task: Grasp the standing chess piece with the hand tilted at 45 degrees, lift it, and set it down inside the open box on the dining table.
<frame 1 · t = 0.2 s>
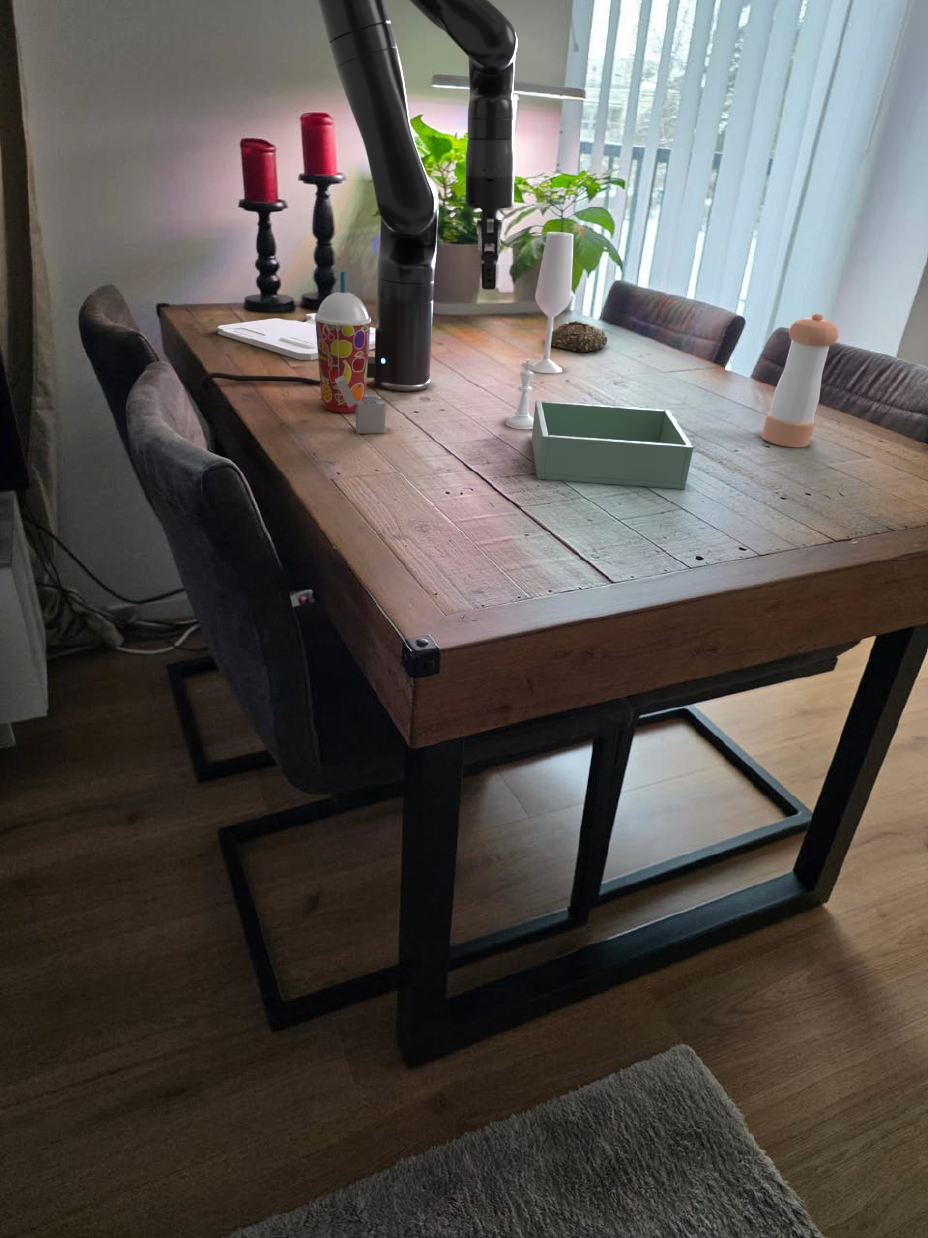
hand: (488, 284, 139), 17 cm above the table, tool pointing down, fingers open, 8 cm apart
open box: (603, 462, 120), on the table
lighter: (360, 432, 124), on the table
tray: (312, 338, 174), on the table
chess piece: (521, 425, 133), on the table
smoothie: (343, 409, 134), on the table
pepper shaker: (784, 441, 135), on the table
bread roll: (574, 346, 185), on the table
champagne flute: (544, 369, 165), on the table
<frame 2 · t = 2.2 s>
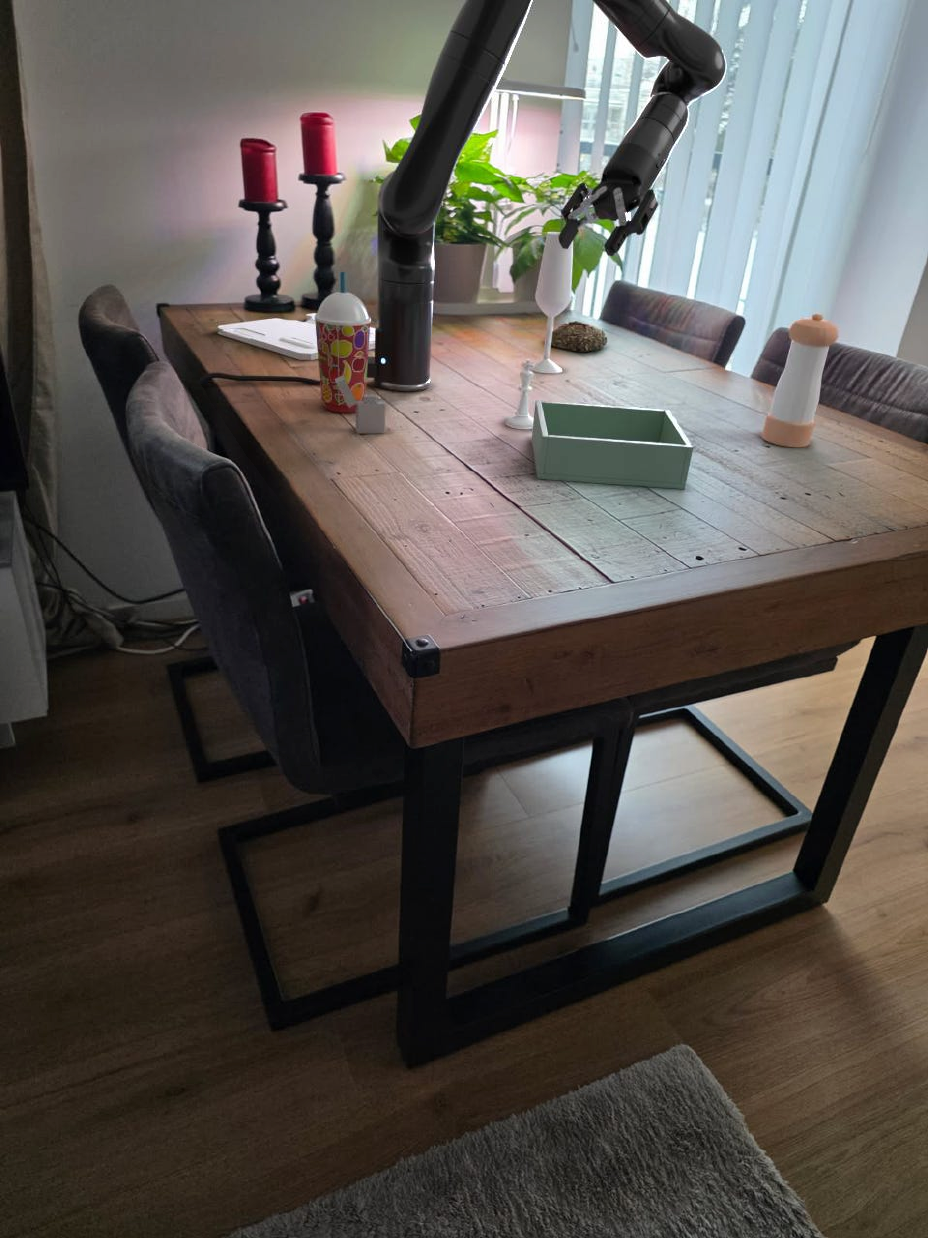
hand: (584, 248, 128), 25 cm above the table, tool tilted 45°, fingers open, 8 cm apart
nothing on the table moved.
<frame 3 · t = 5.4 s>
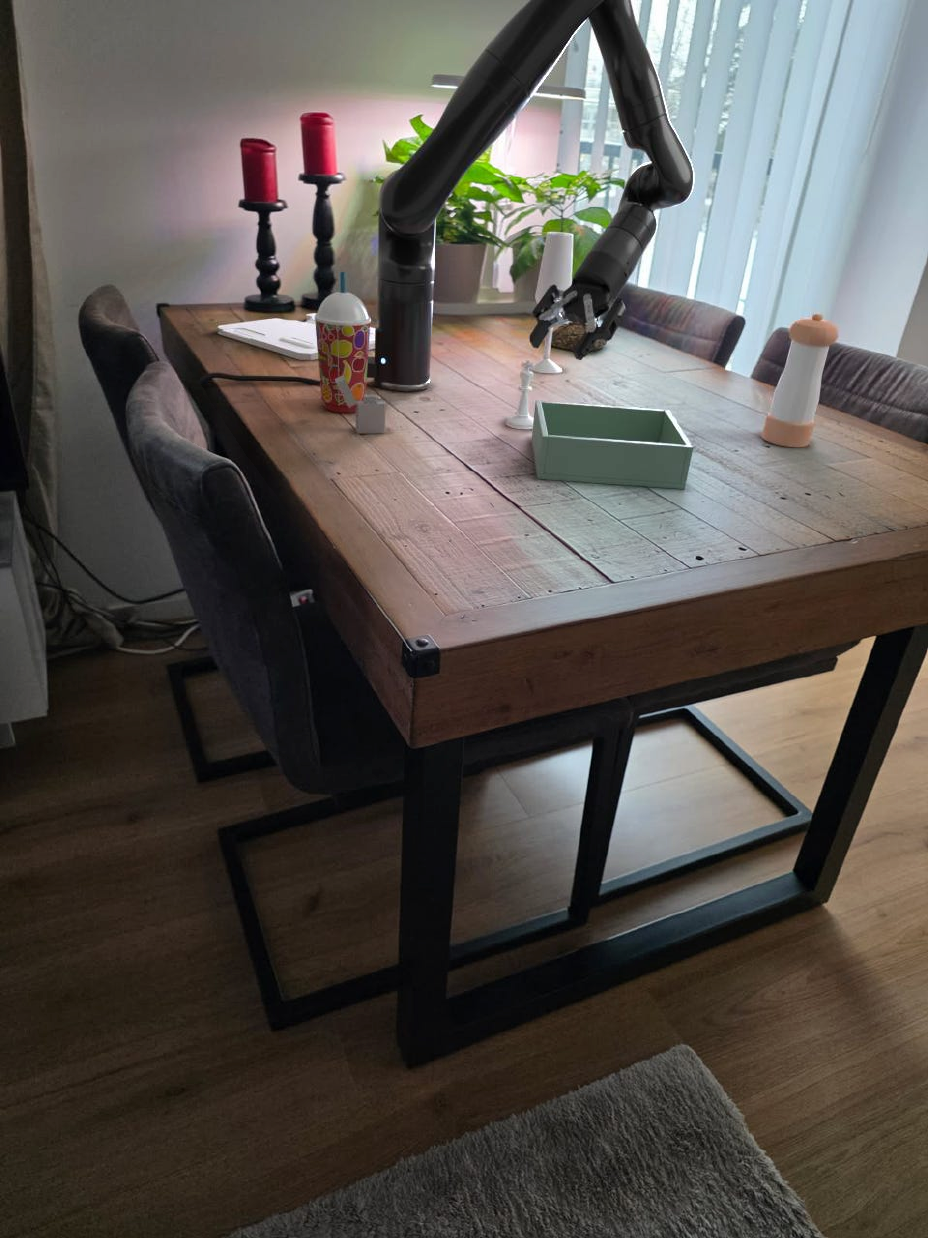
hand: (554, 350, 131), 11 cm above the table, tool tilted 45°, fingers open, 8 cm apart
nothing on the table moved.
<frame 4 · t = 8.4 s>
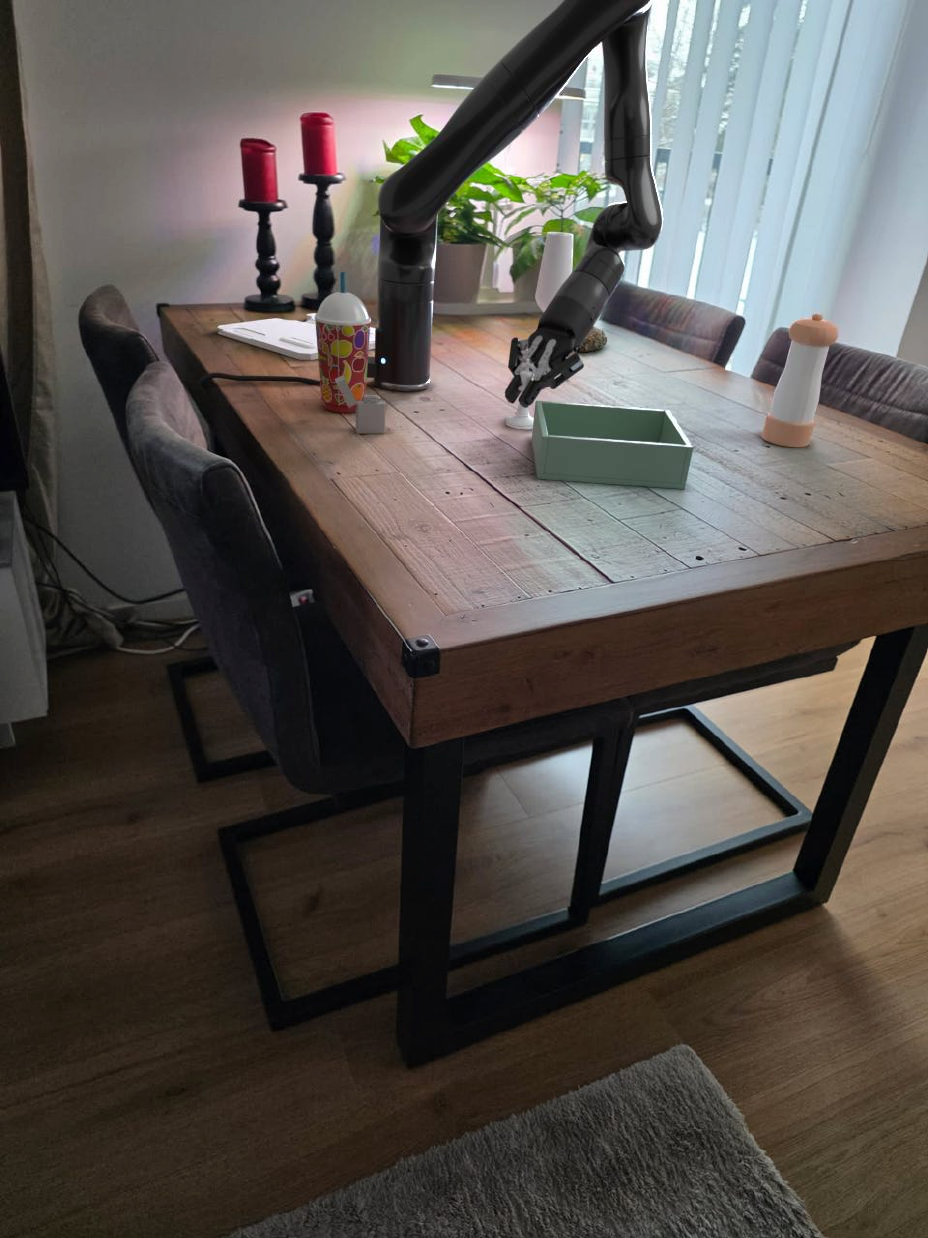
hand: (515, 401, 129), 4 cm above the table, tool tilted 45°, fingers closed on chess piece
chess piece: (521, 425, 133), on the table, touching gripper
everything else where it was.
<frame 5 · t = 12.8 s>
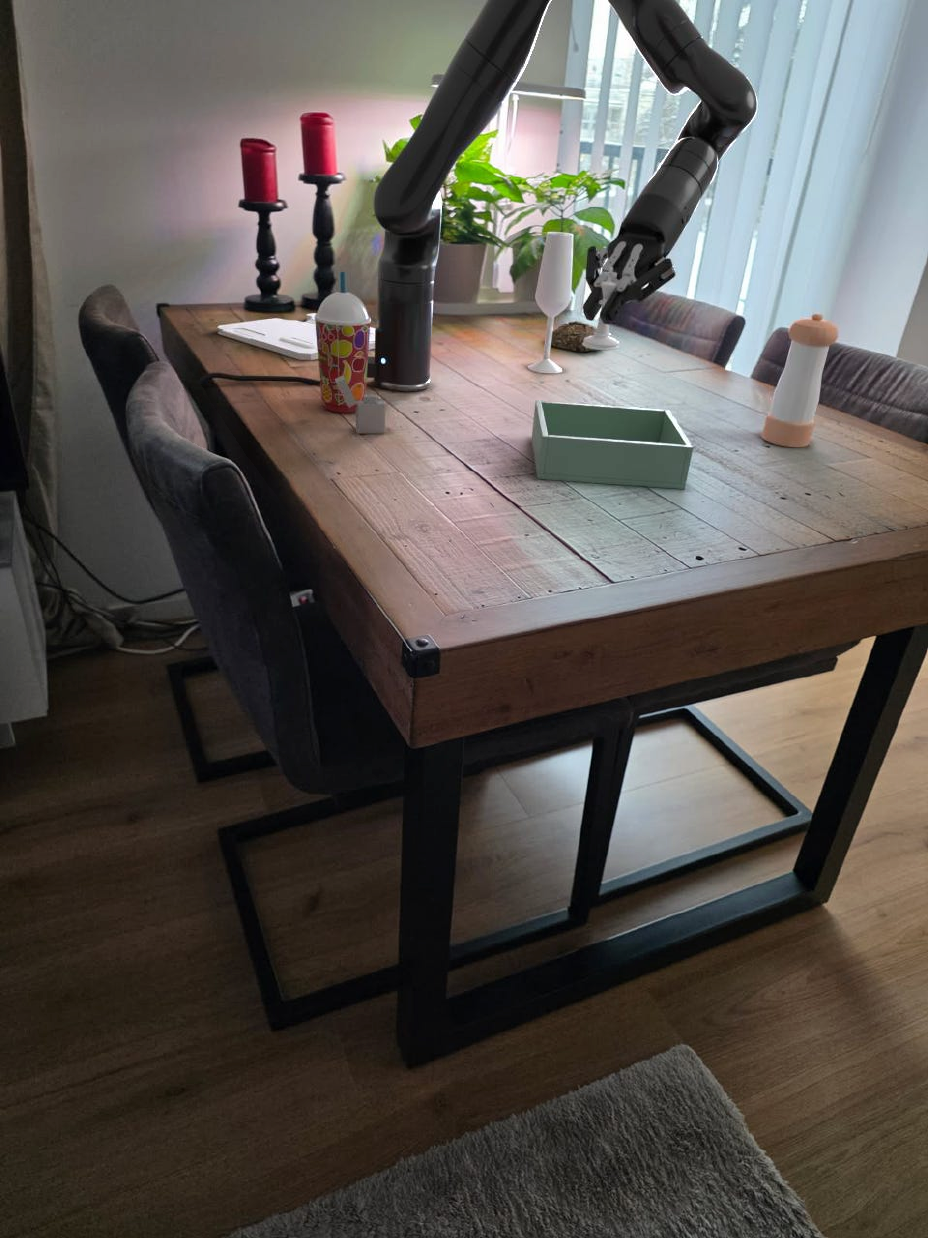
hand: (595, 317, 112), 19 cm above the table, tool tilted 45°, fingers closed on chess piece
chess piece: (600, 347, 116), point 15 cm above the table, touching gripper
everything else where it was.
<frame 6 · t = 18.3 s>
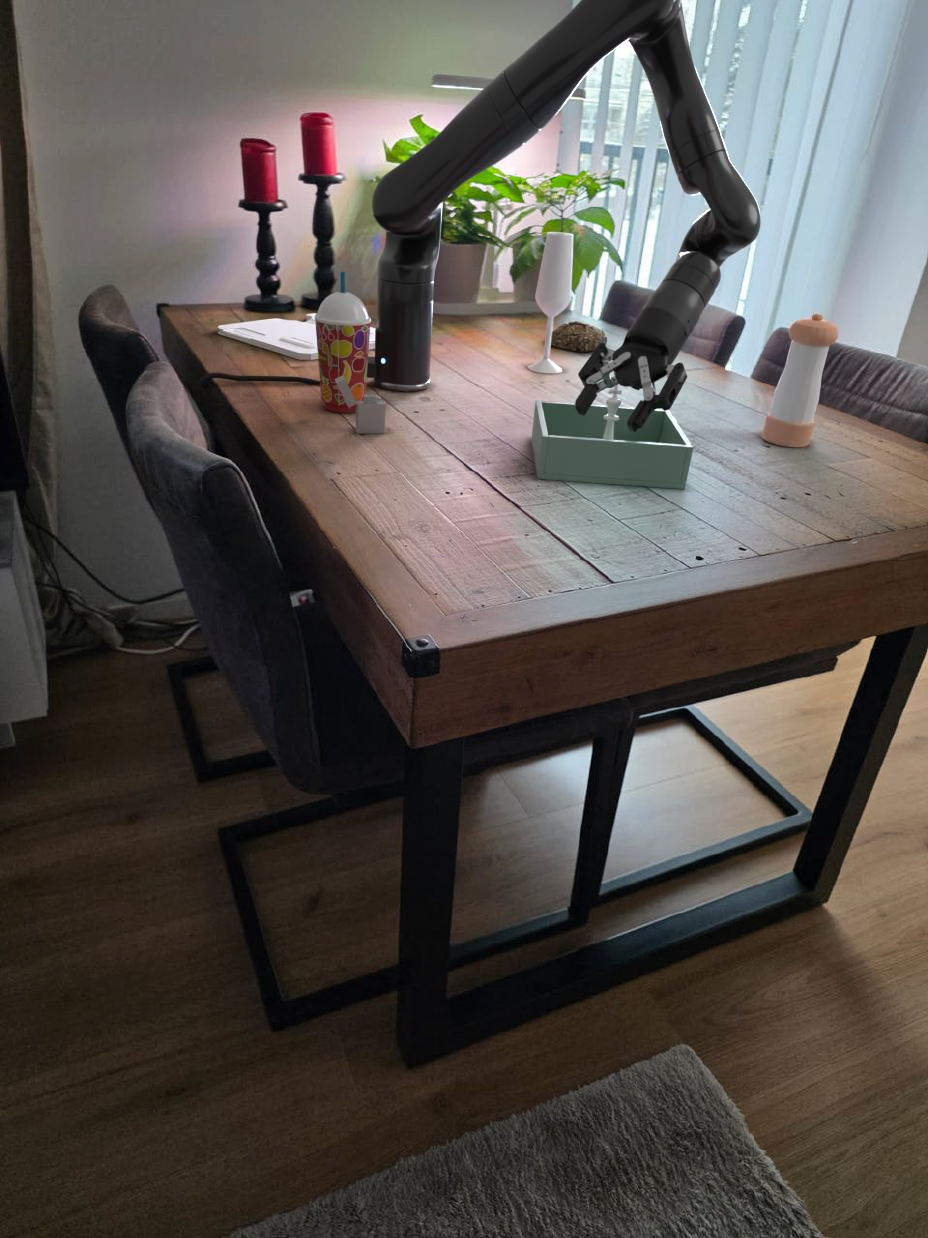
hand: (604, 419, 116), 6 cm above the table, tool tilted 45°, fingers open, 8 cm apart
chess piece: (604, 458, 120), point 1 cm above the table, touching open box
everything else where it was.
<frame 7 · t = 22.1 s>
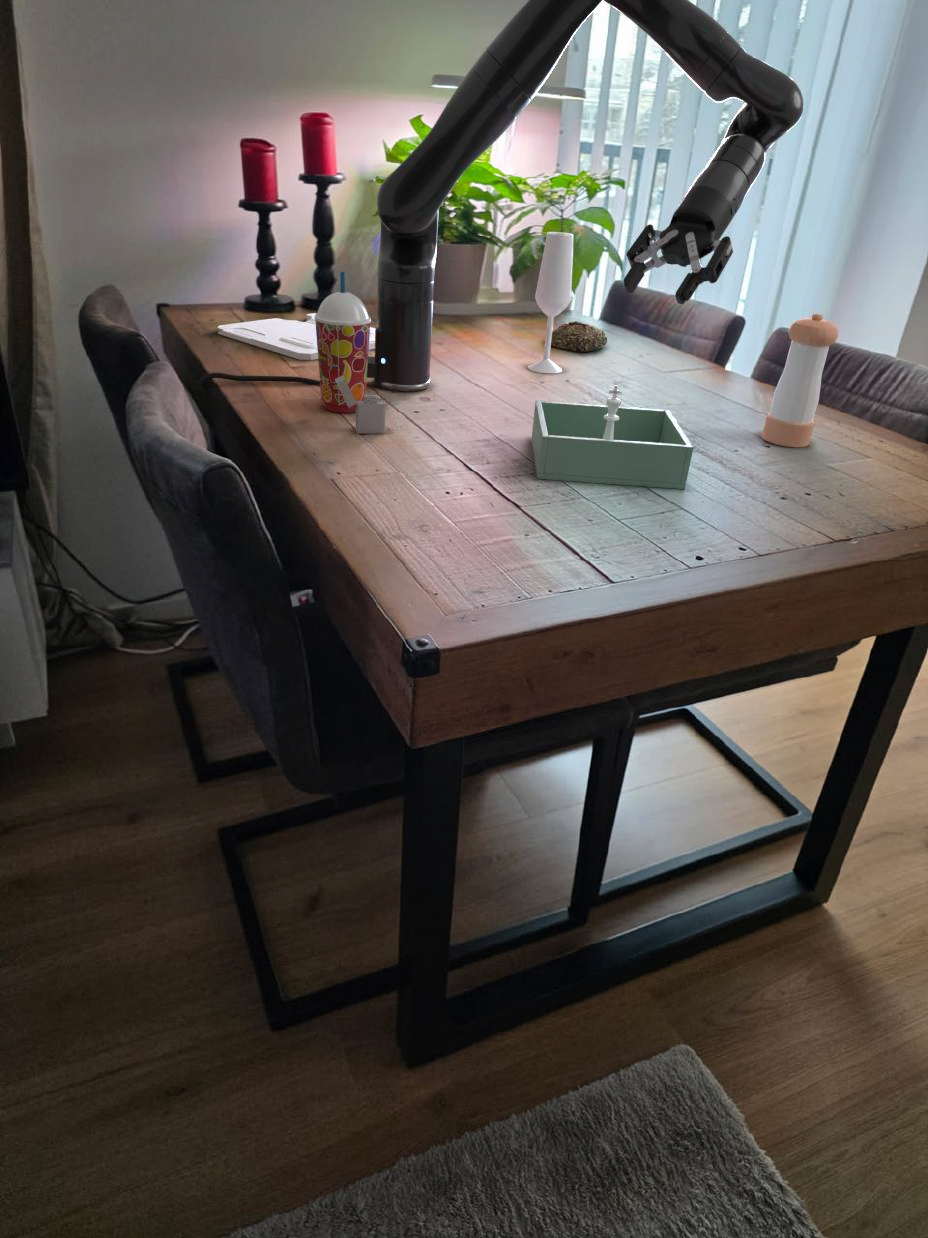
hand: (652, 294, 120), 21 cm above the table, tool tilted 45°, fingers open, 8 cm apart
nothing on the table moved.
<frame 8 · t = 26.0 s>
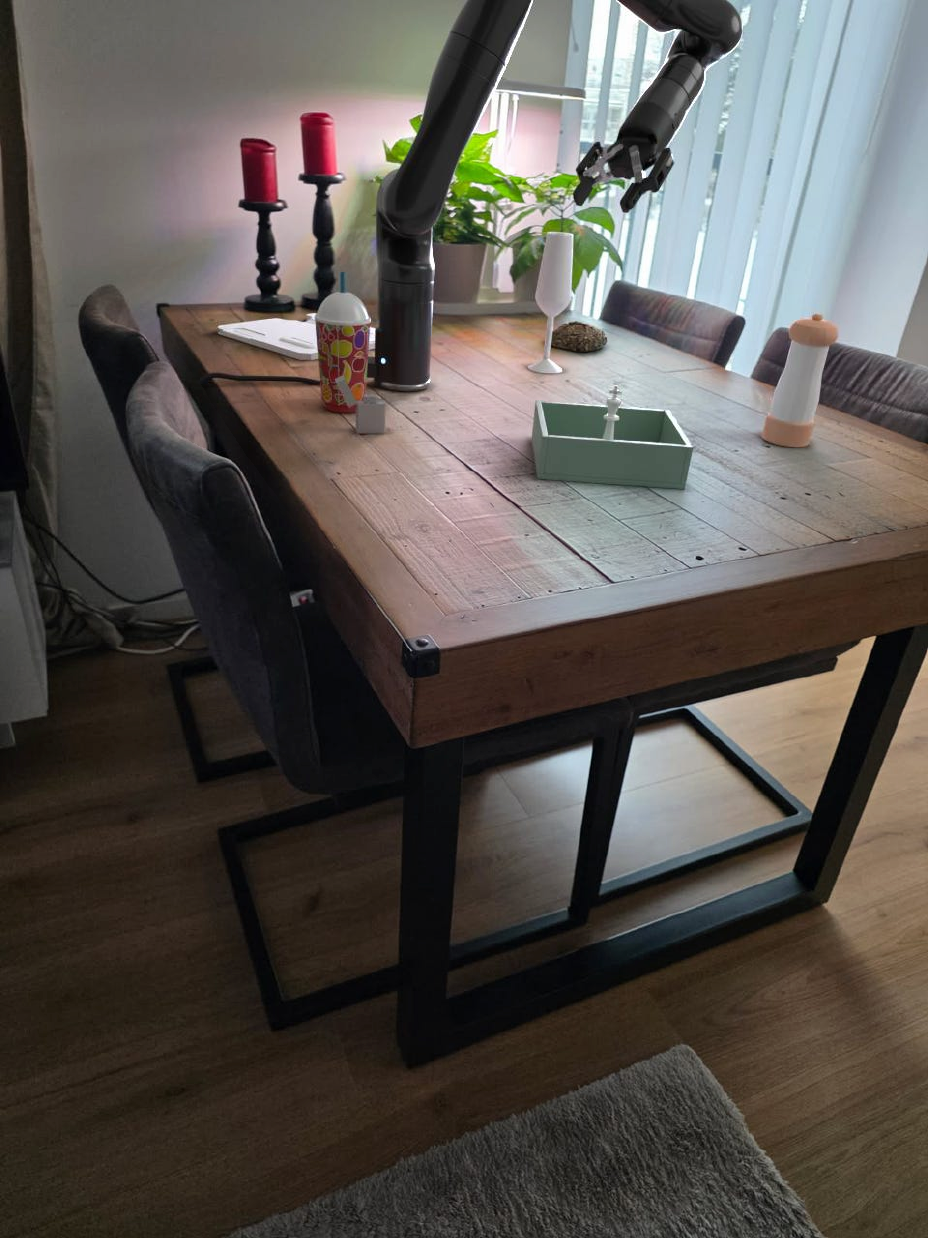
hand: (599, 204, 128), 31 cm above the table, tool tilted 45°, fingers open, 8 cm apart
nothing on the table moved.
at the end: chess piece inside the target area in the open box (0.2 cm from its centre), point 0.6 cm above the open box's base; the gripper is holding nothing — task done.
